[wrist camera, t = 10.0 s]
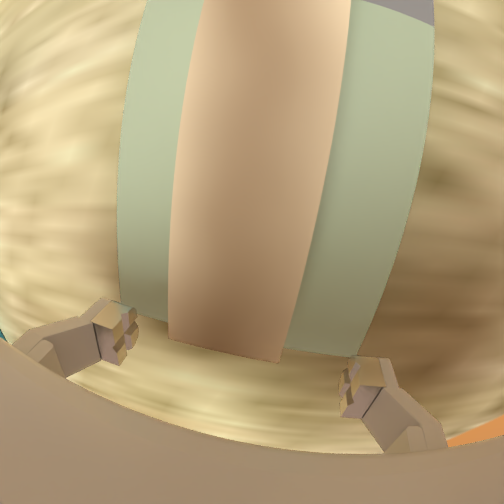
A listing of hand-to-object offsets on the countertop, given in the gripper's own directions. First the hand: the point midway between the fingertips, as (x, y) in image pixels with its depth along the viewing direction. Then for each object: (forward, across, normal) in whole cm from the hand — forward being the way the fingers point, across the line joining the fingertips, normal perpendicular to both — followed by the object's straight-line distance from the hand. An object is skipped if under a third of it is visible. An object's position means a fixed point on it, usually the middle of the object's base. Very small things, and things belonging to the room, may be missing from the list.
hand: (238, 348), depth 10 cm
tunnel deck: (+6, +1, -15) cm, 16 cm away
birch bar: (+4, +1, -8) cm, 9 cm away
